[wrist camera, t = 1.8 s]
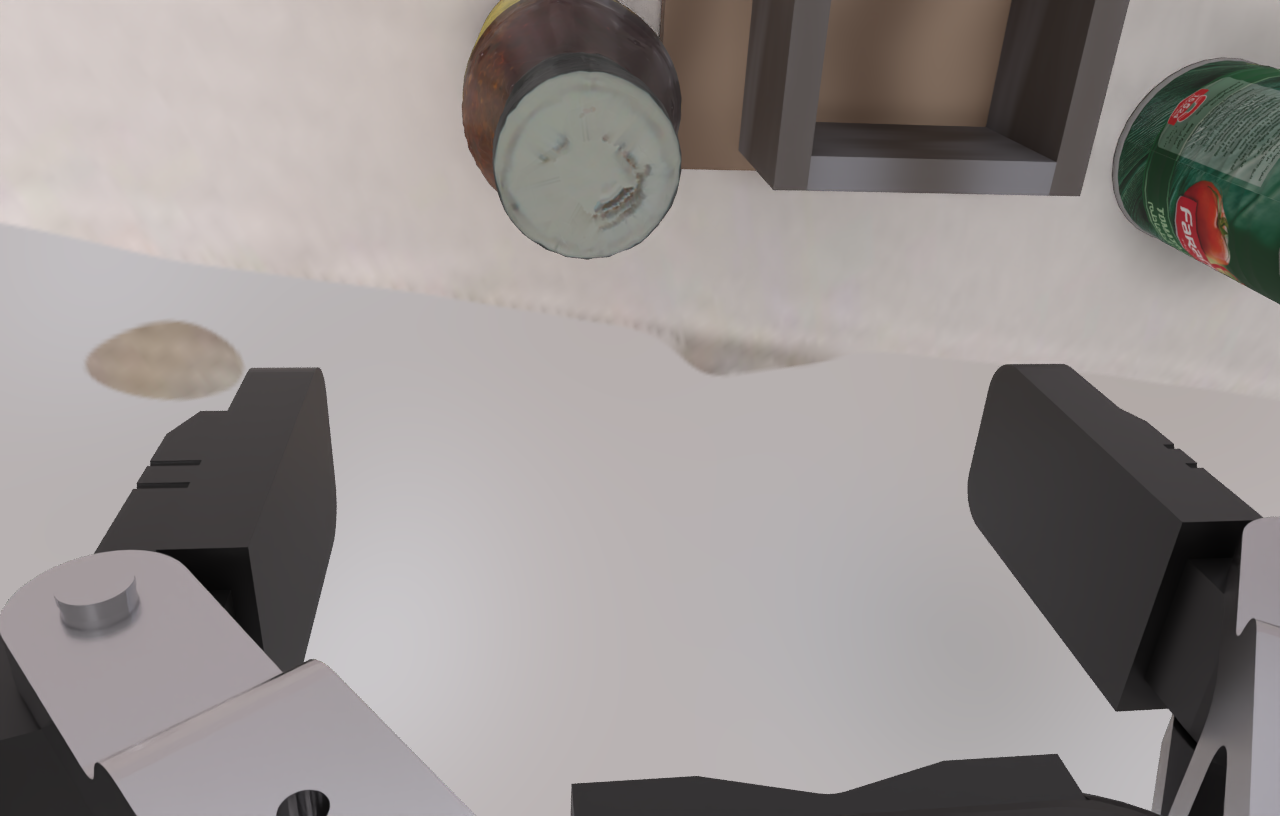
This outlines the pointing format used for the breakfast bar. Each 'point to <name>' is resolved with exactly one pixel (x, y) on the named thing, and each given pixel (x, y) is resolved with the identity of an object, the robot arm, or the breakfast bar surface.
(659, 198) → the sauce bottle
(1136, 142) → the canned tomato
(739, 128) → the bottle holder
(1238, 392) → the breakfast bar surface
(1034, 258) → the breakfast bar surface
